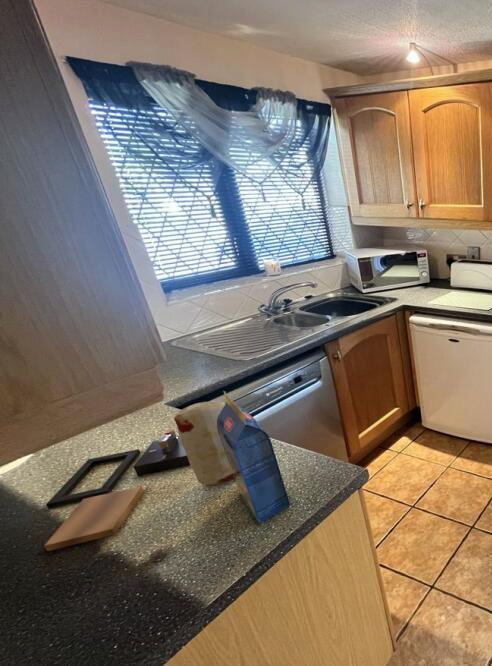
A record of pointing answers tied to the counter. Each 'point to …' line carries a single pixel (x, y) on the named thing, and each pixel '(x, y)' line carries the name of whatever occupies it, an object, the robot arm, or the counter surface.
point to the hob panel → (161, 459)
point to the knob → (168, 441)
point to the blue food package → (252, 461)
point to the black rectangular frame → (63, 494)
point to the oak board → (95, 518)
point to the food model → (204, 442)
